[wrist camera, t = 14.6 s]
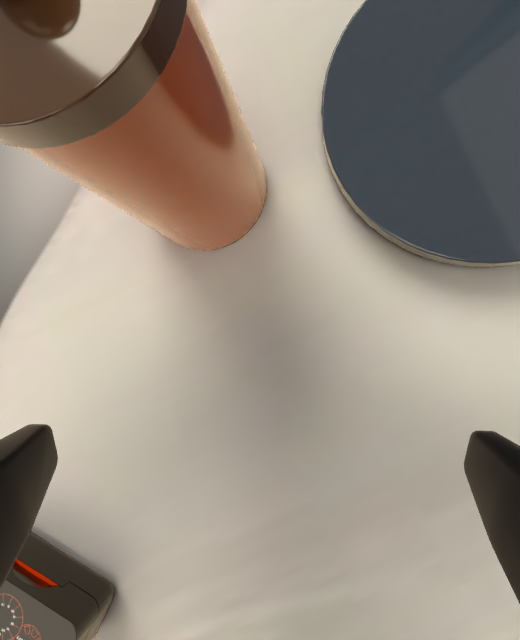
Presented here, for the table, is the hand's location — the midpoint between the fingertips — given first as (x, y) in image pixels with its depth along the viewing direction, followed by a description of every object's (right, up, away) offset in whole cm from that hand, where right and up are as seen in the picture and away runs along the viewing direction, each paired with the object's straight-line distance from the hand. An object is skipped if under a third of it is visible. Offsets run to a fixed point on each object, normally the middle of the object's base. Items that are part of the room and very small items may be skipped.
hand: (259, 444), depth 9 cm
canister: (-2, +9, +10) cm, 14 cm away
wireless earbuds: (-11, -10, +11) cm, 18 cm away
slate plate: (+9, +11, +9) cm, 17 cm away
